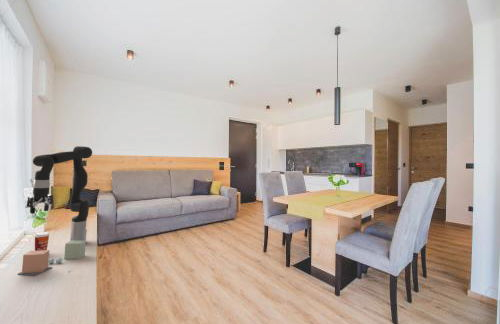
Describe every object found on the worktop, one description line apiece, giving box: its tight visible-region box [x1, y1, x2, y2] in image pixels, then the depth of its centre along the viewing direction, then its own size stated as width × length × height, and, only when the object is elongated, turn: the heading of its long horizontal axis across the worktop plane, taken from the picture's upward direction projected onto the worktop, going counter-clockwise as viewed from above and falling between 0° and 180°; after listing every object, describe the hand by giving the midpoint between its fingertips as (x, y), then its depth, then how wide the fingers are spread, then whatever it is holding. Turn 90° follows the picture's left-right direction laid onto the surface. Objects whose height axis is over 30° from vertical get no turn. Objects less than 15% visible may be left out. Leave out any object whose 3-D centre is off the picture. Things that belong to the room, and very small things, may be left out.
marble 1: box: [48, 257, 56, 264], centre depth 137 cm, size 3×3×3 cm
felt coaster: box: [17, 266, 53, 277], centre depth 126 cm, size 10×10×1 cm
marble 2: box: [55, 257, 63, 264], centre depth 138 cm, size 3×3×3 cm
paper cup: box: [33, 231, 51, 251], centre depth 149 cm, size 8×8×14 cm
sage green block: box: [63, 240, 87, 260], centre depth 147 cm, size 9×6×10 cm, turn 97°
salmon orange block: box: [21, 249, 50, 273], centre depth 127 cm, size 9×6×10 cm, turn 106°
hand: (39, 212), depth 141 cm, fingers open, 8 cm apart
